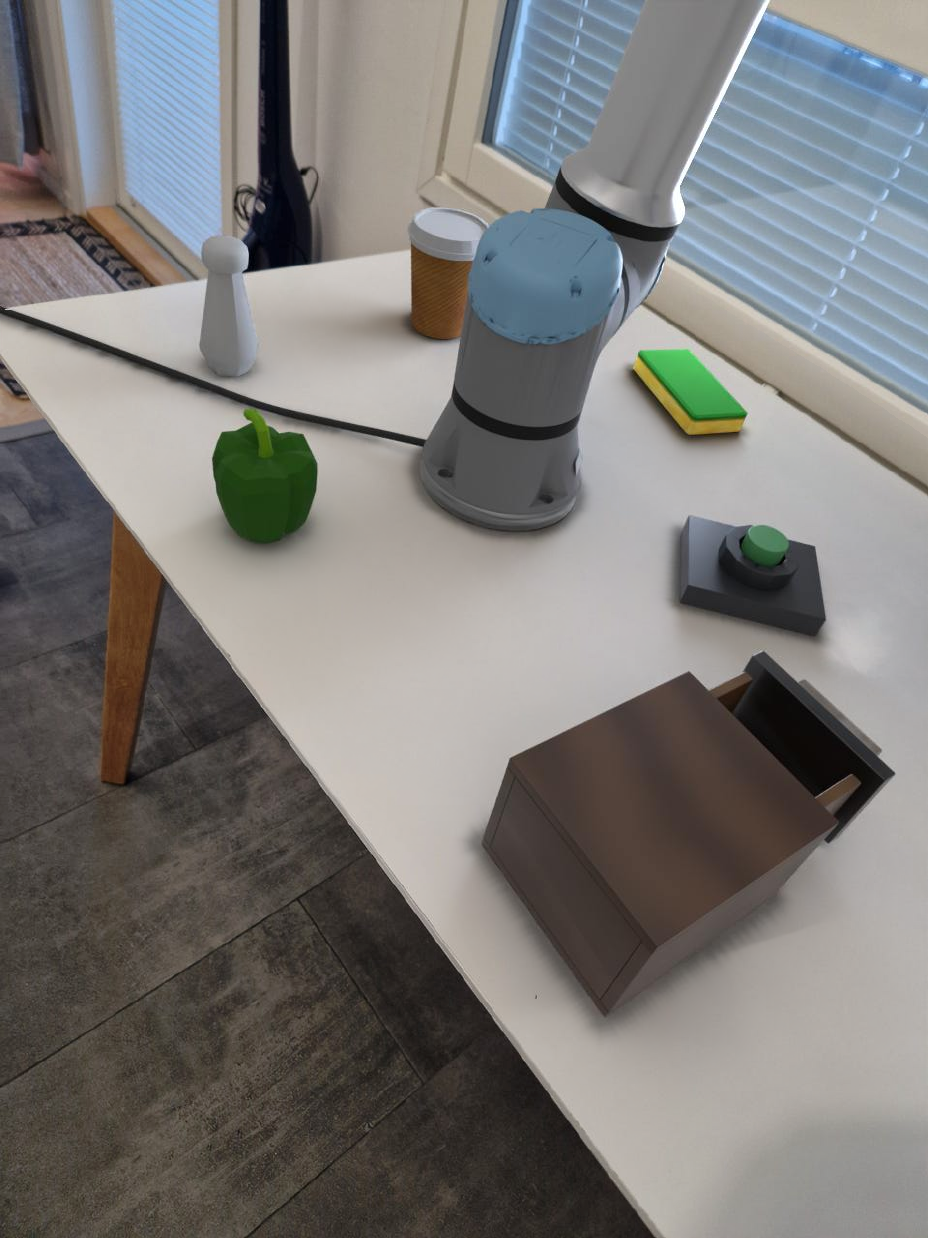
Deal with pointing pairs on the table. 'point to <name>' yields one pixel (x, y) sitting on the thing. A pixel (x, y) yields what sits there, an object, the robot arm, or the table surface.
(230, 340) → the salt shaker
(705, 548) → the control block
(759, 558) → the button
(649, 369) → the dish sponge
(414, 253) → the disposable coffee cup
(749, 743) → the cabinet
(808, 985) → the table surface
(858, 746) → the drawer
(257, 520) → the bell pepper
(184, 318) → the table surface
